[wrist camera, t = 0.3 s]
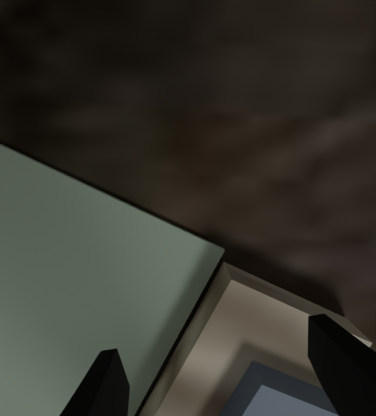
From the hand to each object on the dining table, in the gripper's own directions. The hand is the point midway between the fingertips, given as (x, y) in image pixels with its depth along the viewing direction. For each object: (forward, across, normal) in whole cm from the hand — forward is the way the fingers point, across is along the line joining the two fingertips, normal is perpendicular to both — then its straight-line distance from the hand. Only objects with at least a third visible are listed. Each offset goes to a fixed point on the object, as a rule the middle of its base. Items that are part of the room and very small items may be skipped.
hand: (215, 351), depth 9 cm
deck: (+8, -1, +14) cm, 17 cm away
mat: (+10, +12, +5) cm, 16 cm away
